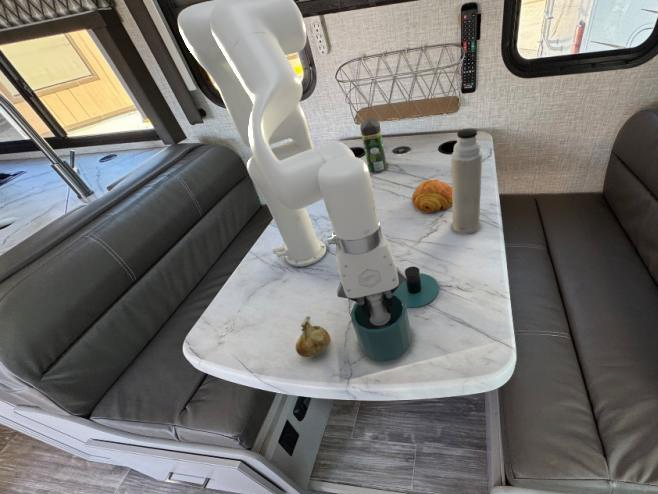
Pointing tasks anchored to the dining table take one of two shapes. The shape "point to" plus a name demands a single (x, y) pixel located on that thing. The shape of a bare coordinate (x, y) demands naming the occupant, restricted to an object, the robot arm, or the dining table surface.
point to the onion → (312, 340)
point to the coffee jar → (373, 145)
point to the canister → (383, 331)
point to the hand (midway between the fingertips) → (378, 310)
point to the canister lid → (417, 288)
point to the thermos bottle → (466, 181)
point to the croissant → (432, 196)
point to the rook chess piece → (378, 310)
